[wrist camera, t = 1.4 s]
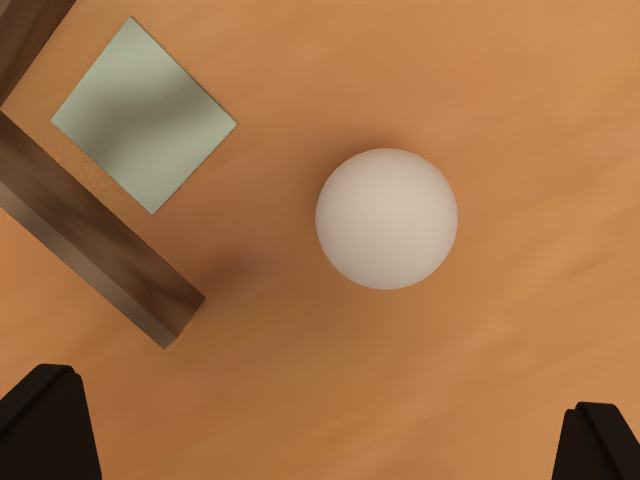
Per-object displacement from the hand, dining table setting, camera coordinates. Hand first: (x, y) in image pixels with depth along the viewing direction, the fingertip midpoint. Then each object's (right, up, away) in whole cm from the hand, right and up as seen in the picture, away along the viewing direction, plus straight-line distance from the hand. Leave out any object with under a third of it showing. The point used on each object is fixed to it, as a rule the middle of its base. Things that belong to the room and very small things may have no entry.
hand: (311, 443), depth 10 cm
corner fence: (-9, +11, +20) cm, 25 cm away
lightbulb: (+4, +8, +20) cm, 22 cm away
